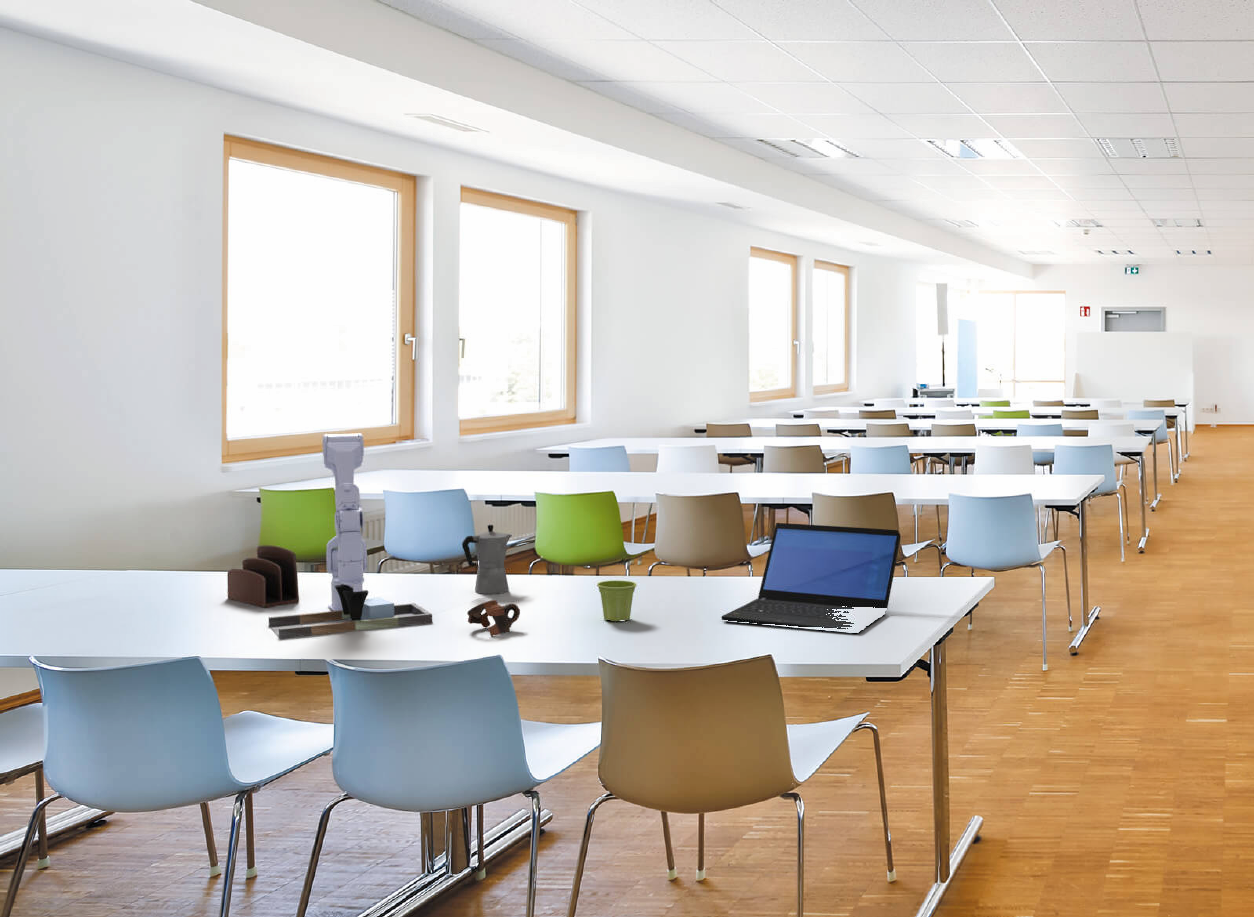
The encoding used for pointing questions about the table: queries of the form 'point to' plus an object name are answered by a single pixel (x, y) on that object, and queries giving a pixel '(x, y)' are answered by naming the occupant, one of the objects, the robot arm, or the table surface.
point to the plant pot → (616, 599)
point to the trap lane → (293, 627)
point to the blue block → (377, 609)
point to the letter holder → (265, 578)
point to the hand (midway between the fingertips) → (352, 617)
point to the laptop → (822, 575)
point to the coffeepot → (489, 560)
